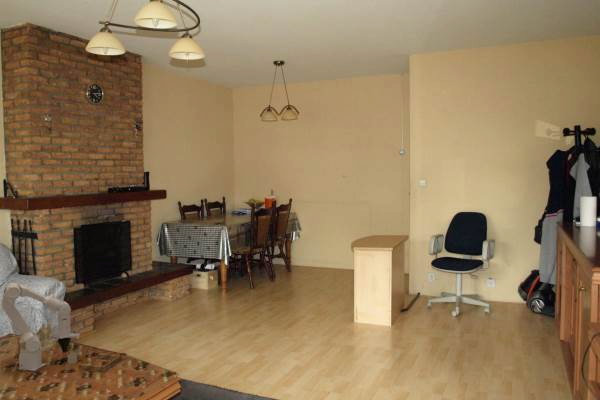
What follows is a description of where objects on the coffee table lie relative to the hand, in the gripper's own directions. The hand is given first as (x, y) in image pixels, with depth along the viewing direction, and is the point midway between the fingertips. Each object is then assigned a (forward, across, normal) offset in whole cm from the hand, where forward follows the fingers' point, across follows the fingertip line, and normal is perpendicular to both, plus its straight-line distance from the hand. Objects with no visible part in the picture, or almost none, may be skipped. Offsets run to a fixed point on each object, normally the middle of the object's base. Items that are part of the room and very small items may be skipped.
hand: (64, 352), depth 242 cm
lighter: (+5, +6, -2) cm, 8 cm away
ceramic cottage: (+5, -24, +21) cm, 32 cm away
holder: (+5, +20, -6) cm, 22 cm away
